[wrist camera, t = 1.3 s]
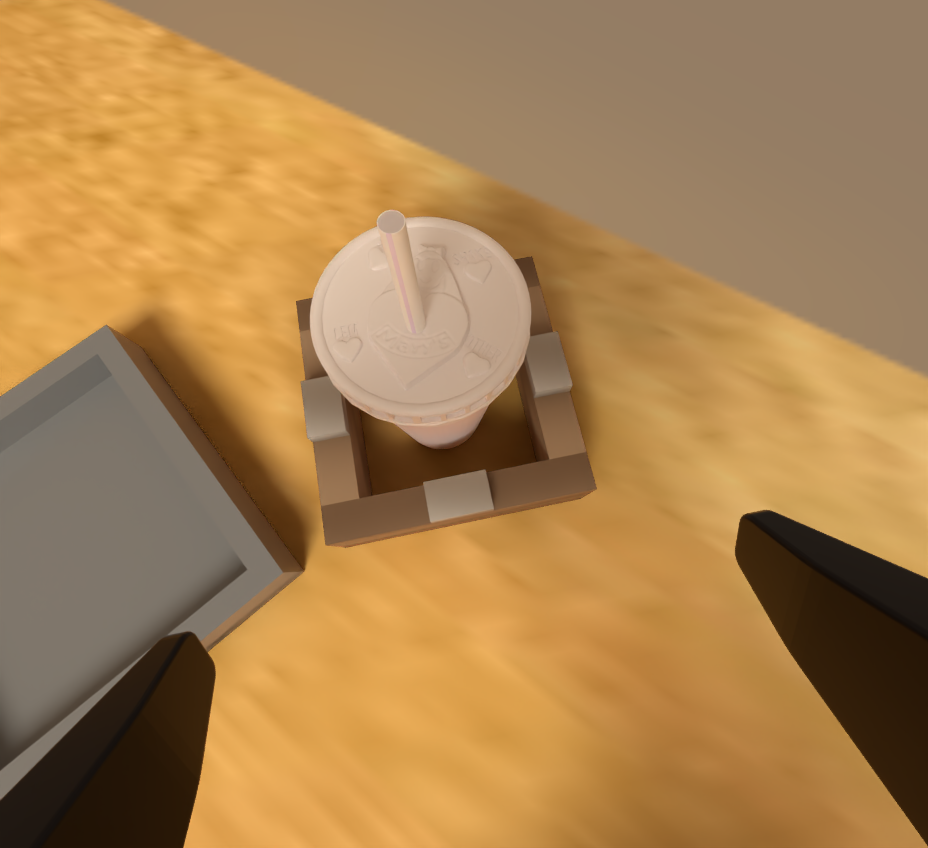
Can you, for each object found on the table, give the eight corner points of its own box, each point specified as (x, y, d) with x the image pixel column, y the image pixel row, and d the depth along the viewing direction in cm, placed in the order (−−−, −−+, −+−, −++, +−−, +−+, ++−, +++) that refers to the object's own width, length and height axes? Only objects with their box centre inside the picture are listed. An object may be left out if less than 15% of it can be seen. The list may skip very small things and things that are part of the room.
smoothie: (361, 467, 22) (191, 325, 9) (387, 341, 24) (277, 59, 11) (501, 487, 22) (543, 369, 8) (517, 357, 24) (574, 86, 10)
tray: (304, 571, 21) (283, 572, 19) (9, 816, 19) (-56, 852, 17) (141, 347, 24) (106, 324, 22) (-129, 535, 22) (-200, 532, 20)
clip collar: (580, 498, 22) (601, 486, 18) (345, 547, 21) (320, 544, 18) (525, 292, 25) (533, 246, 21) (317, 332, 24) (290, 292, 21)
